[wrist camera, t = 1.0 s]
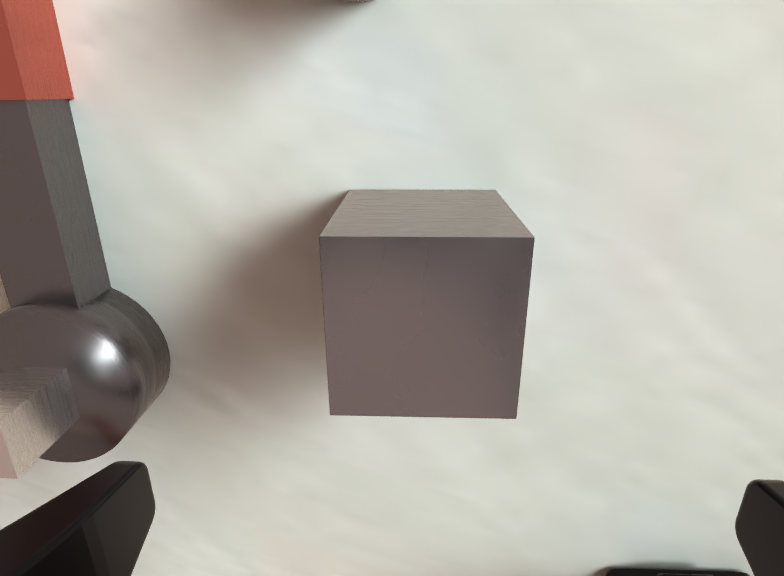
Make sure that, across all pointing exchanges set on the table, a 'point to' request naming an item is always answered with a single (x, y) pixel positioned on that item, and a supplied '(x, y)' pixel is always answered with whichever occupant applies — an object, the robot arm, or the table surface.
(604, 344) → the table surface
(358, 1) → the small socket
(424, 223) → the grey cubic block
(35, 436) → the ratchet
